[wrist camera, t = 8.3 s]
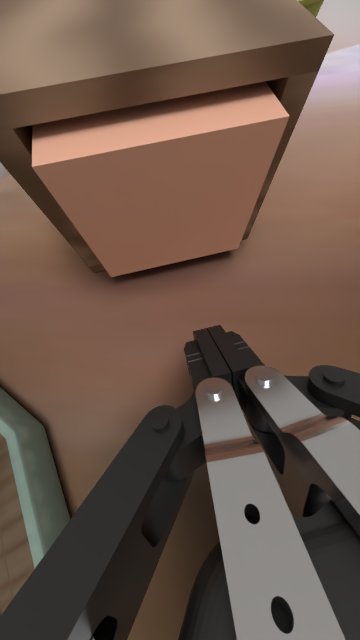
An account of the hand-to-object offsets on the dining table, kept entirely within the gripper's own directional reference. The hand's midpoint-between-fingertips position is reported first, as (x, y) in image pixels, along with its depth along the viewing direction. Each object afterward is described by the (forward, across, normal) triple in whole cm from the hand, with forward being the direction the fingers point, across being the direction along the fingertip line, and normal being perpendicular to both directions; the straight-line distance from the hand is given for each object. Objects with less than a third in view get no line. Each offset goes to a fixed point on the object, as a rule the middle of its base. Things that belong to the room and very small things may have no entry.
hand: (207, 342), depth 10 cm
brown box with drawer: (+16, 0, -8) cm, 17 cm away
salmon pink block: (+13, 0, -6) cm, 14 cm away
